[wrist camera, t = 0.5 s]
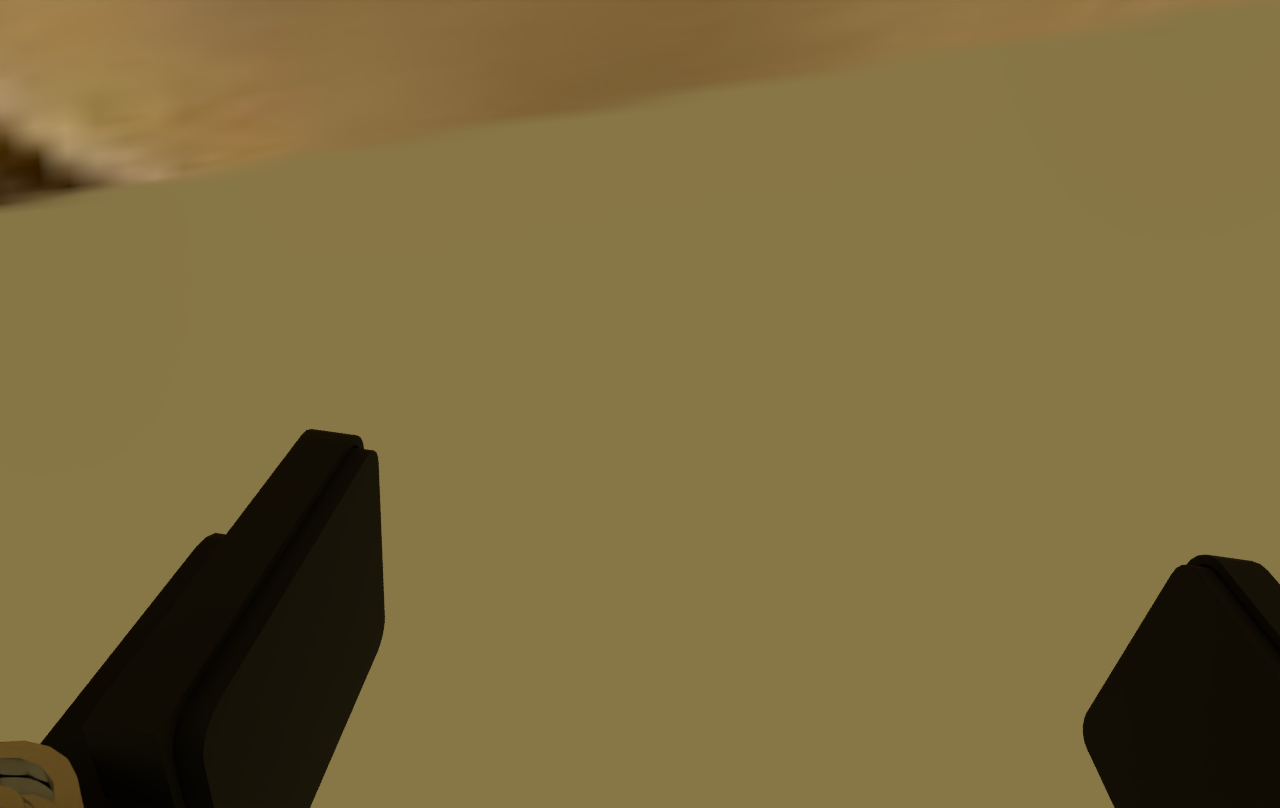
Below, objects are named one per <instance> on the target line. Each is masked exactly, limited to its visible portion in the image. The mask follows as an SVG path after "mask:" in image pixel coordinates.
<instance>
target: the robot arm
mask: <svg viewBox="0 0 1280 808" xmlns="http://www.w3.org/2000/svg"><path fill="white" fill-rule="evenodd" d="M378 464H379V463H378V456H377V453H376V452H375V451H373V450H366V449H364V446H363V442H362V439H361V438H360V437H359V436H357V435H350V434H343V433H336V432H328V431H321V430H314V429H310V430H306V431H305V432H304V433H303V434H302V435H301V436H300V438H299V439H298V441H297V442H296V443H295V444H294V446H293V447H292V448H291V450H290V451H289V452H288V454H287V455H286V456H285V458H284V459H283V460H282V462H281V463H280V464H279V465H278V467H277V468H276V469H275V471H274V472H273V473H272V475H271V476H270V477H269V479H268V480H267V481H266V483H265V484H264V485H263V487H262V488H261V489H260V491H259V492H258V493H257V495H256V496H255V497H254V498H253V500H252V501H251V503H250V504H249V505H248V506H247V508H246V509H245V510H244V512H243V513H242V514H241V516H240V517H239V518H238V520H237V521H236V522H235V523H234V525H233V526H232V527H231V529H230V530H229V531H228V533H227V534H226V535H225V534H218V533H215V534H212V535H210V536H208V537H206V538H205V539H204V540H203V541H202V542H201V543H200V544H199V545H198V546H197V547H196V548H195V549H194V550H193V552H192V553H191V554H190V555H189V557H188V558H187V559H186V561H185V562H184V563H183V564H182V565H181V567H180V568H179V569H178V570H177V572H176V573H175V574H174V576H173V577H172V578H171V579H170V581H169V582H168V583H167V584H166V586H165V587H164V588H163V589H162V591H161V592H160V593H159V595H158V596H157V597H156V598H155V600H154V601H153V602H152V603H151V605H150V606H149V607H148V608H147V610H146V611H145V612H144V614H143V615H142V616H141V617H140V619H139V620H138V621H137V622H136V624H135V625H134V626H133V627H132V629H131V630H130V631H129V632H128V634H127V635H126V636H125V637H124V639H123V640H122V641H121V643H120V644H119V645H118V646H117V648H116V649H115V650H114V651H113V653H112V654H111V655H110V656H109V658H108V659H107V660H106V662H105V663H104V664H103V665H102V667H101V668H100V669H99V670H98V672H97V673H96V674H95V675H94V677H93V678H92V679H91V680H90V682H89V683H88V684H87V686H86V687H85V688H84V689H83V690H82V692H81V693H80V694H79V696H78V697H77V698H76V700H75V701H74V702H73V703H72V704H71V706H70V707H69V708H68V709H67V711H66V712H65V713H64V715H63V716H62V717H61V718H60V720H59V721H58V722H57V723H56V725H55V726H54V727H53V728H52V730H51V731H50V732H49V733H48V735H47V736H46V737H45V739H44V740H43V741H42V742H41V744H36V743H32V742H28V741H10V742H0V808H310V806H311V804H312V802H313V799H314V797H315V795H316V792H317V790H318V788H319V786H320V783H321V781H322V779H323V776H324V774H325V772H326V769H327V767H328V764H329V762H330V760H331V758H332V756H333V753H334V751H335V749H336V746H337V744H338V742H339V739H340V737H341V735H342V732H343V730H344V728H345V725H346V723H347V721H348V718H349V716H350V714H351V712H352V709H353V707H354V705H355V702H356V700H357V698H358V695H359V693H360V691H361V688H362V686H363V684H364V682H365V679H366V677H367V675H368V672H369V670H370V668H371V666H372V663H373V661H374V658H375V656H376V654H377V652H378V649H379V646H380V643H381V640H382V635H383V631H384V623H385V610H384V587H383V561H382V537H381V512H380V487H379V465H378ZM1083 736H1084V741H1085V744H1086V747H1087V750H1088V752H1089V754H1090V756H1091V758H1092V760H1093V763H1094V765H1095V767H1096V769H1097V771H1098V773H1099V775H1100V777H1101V780H1102V782H1103V784H1104V786H1105V788H1106V790H1107V793H1108V795H1109V797H1110V799H1111V801H1112V803H1113V805H1114V807H1115V808H1280V584H1279V583H1278V582H1277V581H1276V580H1275V578H1274V577H1273V576H1272V575H1271V574H1270V573H1269V571H1268V570H1266V569H1265V568H1264V567H1263V566H1262V565H1260V564H1258V563H1256V562H1253V561H1247V560H1240V559H1234V558H1226V557H1219V556H1212V555H1199V556H1196V557H1195V558H1193V559H1191V560H1190V561H1189V562H1188V564H1187V565H1181V566H1179V567H1178V568H1176V569H1175V570H1174V572H1173V573H1172V574H1171V576H1170V578H1169V579H1168V581H1167V583H1166V584H1165V586H1164V587H1163V589H1162V591H1161V592H1160V594H1159V595H1158V597H1157V599H1156V600H1155V602H1154V604H1153V605H1152V607H1151V608H1150V610H1149V612H1148V613H1147V615H1146V617H1145V619H1144V620H1143V622H1142V623H1141V625H1140V627H1139V628H1138V630H1137V631H1136V633H1135V635H1134V636H1133V638H1132V640H1131V641H1130V643H1129V644H1128V646H1127V648H1126V650H1125V651H1124V653H1123V654H1122V656H1121V658H1120V659H1119V661H1118V663H1117V664H1116V666H1115V667H1114V669H1113V671H1112V672H1111V674H1110V675H1109V677H1108V679H1107V680H1106V682H1105V684H1104V685H1103V687H1102V689H1101V690H1100V692H1099V693H1098V695H1097V697H1096V698H1095V700H1094V702H1093V703H1092V705H1091V707H1090V708H1089V710H1088V711H1087V713H1086V716H1085V718H1084V723H1083Z"/></svg>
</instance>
